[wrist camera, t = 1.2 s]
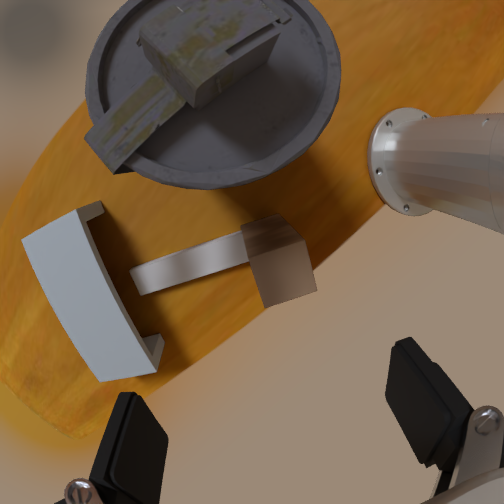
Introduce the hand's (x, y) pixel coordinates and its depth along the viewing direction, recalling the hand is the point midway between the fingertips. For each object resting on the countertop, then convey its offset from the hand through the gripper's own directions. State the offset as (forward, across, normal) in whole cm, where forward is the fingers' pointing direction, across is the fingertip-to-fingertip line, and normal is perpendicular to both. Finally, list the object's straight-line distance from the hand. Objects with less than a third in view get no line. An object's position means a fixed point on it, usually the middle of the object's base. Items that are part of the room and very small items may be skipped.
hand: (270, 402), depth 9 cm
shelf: (+20, +17, +2) cm, 27 cm away
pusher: (+21, +4, +1) cm, 21 cm away
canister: (+21, 0, -12) cm, 24 cm away
